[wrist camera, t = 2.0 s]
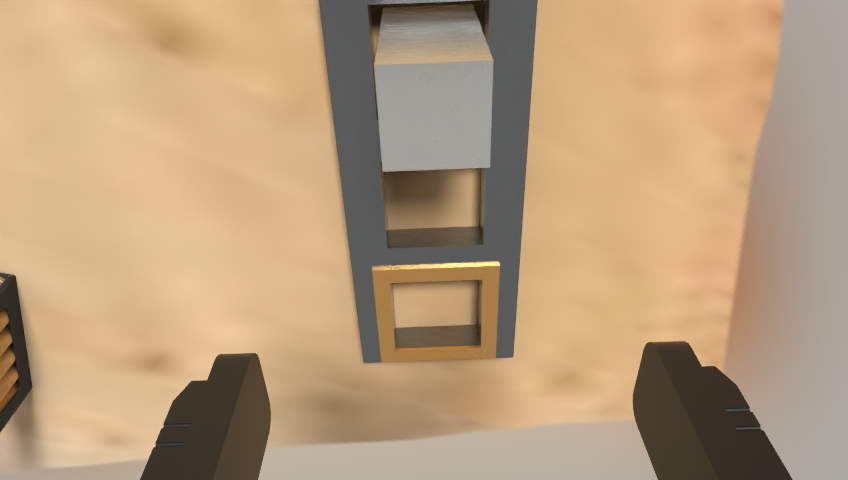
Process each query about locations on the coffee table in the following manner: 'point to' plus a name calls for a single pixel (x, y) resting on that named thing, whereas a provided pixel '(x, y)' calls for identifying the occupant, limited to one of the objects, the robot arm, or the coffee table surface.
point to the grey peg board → (433, 247)
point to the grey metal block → (433, 88)
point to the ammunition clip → (12, 351)
